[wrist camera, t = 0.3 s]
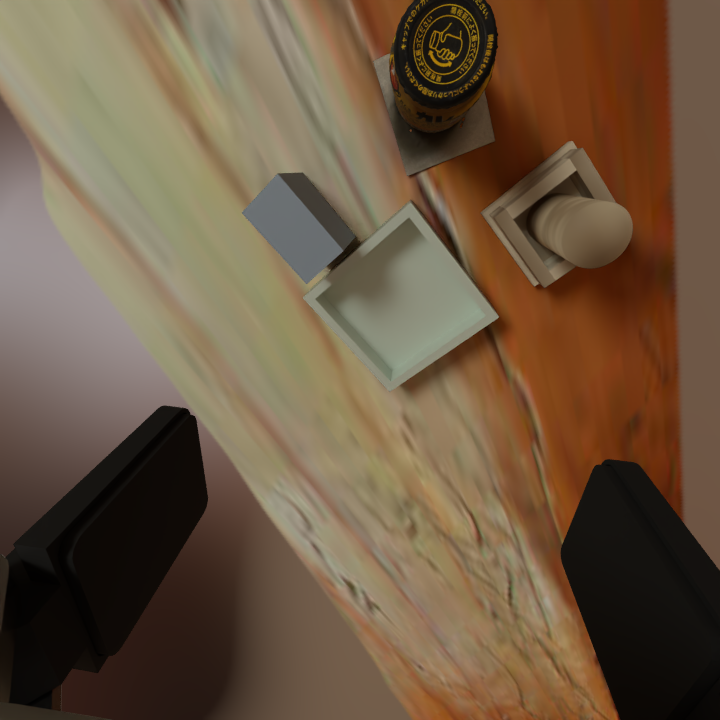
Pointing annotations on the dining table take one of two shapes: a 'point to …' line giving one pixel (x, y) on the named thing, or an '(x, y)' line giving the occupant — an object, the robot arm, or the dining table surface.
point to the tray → (401, 299)
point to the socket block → (510, 210)
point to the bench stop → (299, 224)
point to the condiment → (439, 80)
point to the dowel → (580, 228)
